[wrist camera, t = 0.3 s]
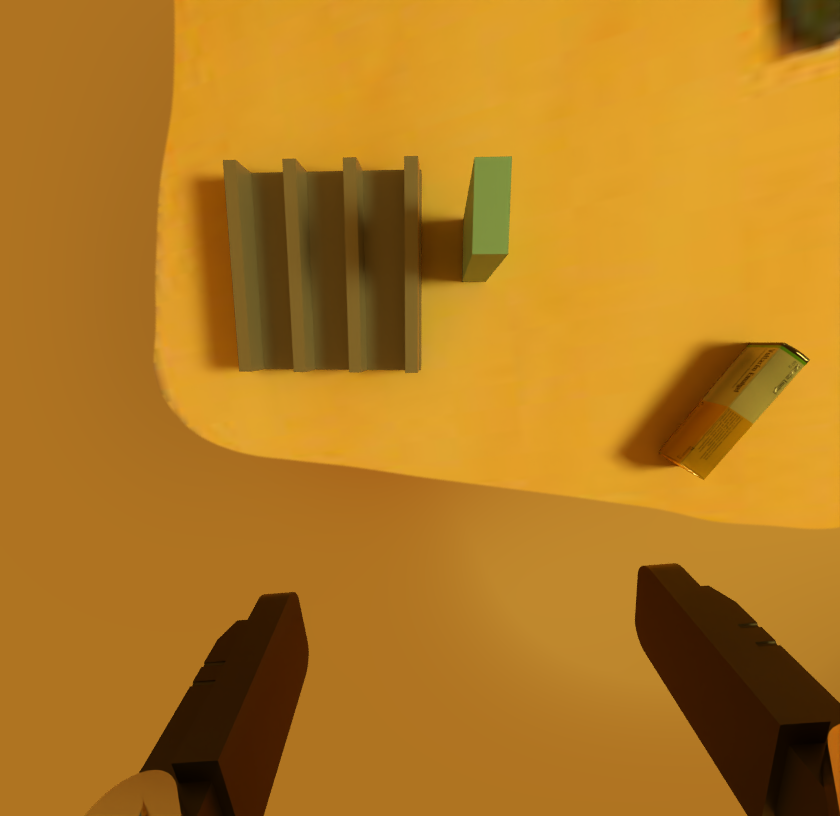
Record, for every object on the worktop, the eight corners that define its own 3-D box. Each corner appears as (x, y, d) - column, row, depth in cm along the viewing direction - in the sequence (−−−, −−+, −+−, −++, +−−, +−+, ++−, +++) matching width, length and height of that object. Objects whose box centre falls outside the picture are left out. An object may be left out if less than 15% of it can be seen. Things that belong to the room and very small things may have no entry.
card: (463, 219, 34) (474, 157, 22) (487, 219, 34) (511, 156, 22) (462, 281, 35) (472, 254, 23) (485, 281, 34) (508, 254, 23)
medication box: (747, 339, 34) (786, 339, 30) (773, 357, 34) (814, 359, 31) (654, 451, 37) (679, 465, 33) (679, 467, 37) (706, 483, 33)
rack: (243, 177, 34) (221, 160, 31) (421, 174, 33) (419, 156, 30) (257, 368, 37) (238, 371, 33) (421, 369, 36) (418, 372, 33)
